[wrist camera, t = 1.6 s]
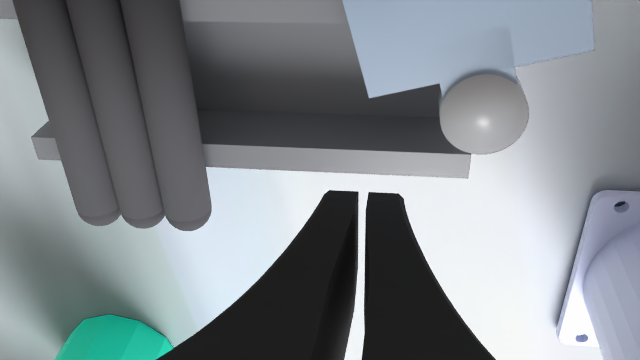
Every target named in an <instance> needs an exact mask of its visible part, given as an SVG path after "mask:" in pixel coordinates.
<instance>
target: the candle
mask: <svg viewBox="0 0 640 360" xmlns="http://www.w3.org/2000/svg"><path fill="white" fill-rule="evenodd" d="M172 349H173V347H172V346H171V344H170V343H169V341H168V340H167V338H166V337H165V336H163V335H161V334H160V333H158V332H157V331H155V330H154V329H152V328H150V327H149V326H147V325H146V324H144V323H142V322H141V321H137V320H133V319H129V318H124V317H120V316H115V315H111V314H109V315H104V316H98V317H93V318H87V319H84V320H83V321H82V322H81V323H80V324H79V325H78V326H77V327H76V328H75V330H74V331H73V332H72V333H71V334H70V336H69V337H68V339H67V340H66V342H65V344H64V345H63V347H62V349H61V350H60V352H59V353H58V355H57V357H56V358H55V360H156V359H158V358H159V357H161V356H162V355H164V354H166V353H167V352H169V351H170V350H172Z"/></svg>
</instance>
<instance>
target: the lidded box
mask: <svg viewBox="0 0 640 360" xmlns="http://www.w3.org/2000/svg"><path fill="white" fill-rule="evenodd" d="M342 1H343V5H344V8H345V12H346V16H347V19H348V23H349V27H350V30H351V34H352V38H353V41H354V45H355V49H356V52H357V56H358V60H359V63H360V67H361V70H362V74H363V78H364V81H365V85H366V89H367V92H368V96H369V98H373V97H378V96H383V95H387V94H392V93H397V92H401V91H406V90H411V89H415V88H420V87H425V86H429V85H434V84H439V83H440V87H441V89H440V92H439V99H438V103H439V115H440V124H441V129H442V131H443V134H444V135H445V137H446V139H447V140H448V141H449V142H450V143H451V144H452V145H453V146H455V147H456V148H458V149H460V150H462V151H464V152H467V153H471V154H491V153H495V152H498V151H501V150H503V149H505V148H507V147H508V146H510V145H511V144H513V143H514V142H515V141H516V140H517V139H518V138H519V137H520V136H521V134H522V133H523V131H524V130H525V128H526V125H527V122H528V118H529V108H528V103H527V100H526V98H525V95H524V92H523V89H522V87H521V84H520V81H519V79H518V78H517V76H516V73H515V67H518V66H523V65H528V64H532V63H537V62H542V61H546V60H551V59H556V58H560V57H565V56H570V55H575V54H579V53H584V52H589V51H593V50H595V47H594V31H593V14H592V0H342Z"/></svg>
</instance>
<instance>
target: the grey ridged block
mask: <svg viewBox="0 0 640 360" xmlns="http://www.w3.org/2000/svg"><path fill="white" fill-rule="evenodd" d="M12 1H13V5H14V8H15V11H16V14H17V18H18V21H19V24H20V27H21V31H22V34H23V37H24V40H25V44H26V47H27V50H28V53H29V57H30V60H31V63H32V66H33V70H34V73H35V76H36V79H37V83H38V86H39V89H40V92H41V96H42V99H43V102H44V105H45V109H46V112H47V115H48V118H49V122H50V125H51V128H52V131H53V135H54V138H55V141H56V144H57V148H58V151H59V154H60V157H61V161H62V164H63V167H64V170H65V174H66V177H67V180H68V183H69V187H70V190H71V193H72V196H73V200H74V203H75V206H76V209H77V212H78V214H79V216H80V217H81V218H82V219H83V220H84V221H85V222H87V223H89V224H91V225H95V226H104V225H108V224H111V223H112V222H114V221H115V220H117V219H118V217H119V216H120V215H122V217H123V218H124V220H125V221H126V222H127V223H129V224H130V225H132V226H134V227H136V228H150V227H153V226H155V225H157V224H158V223H159V222H160V221H161V220H162V219H163V218H164V216H165V215H166V218H167V220H168V221H169V223H170V224H171V225H172V226H174V227H175V228H177V229H179V230H182V231H193V230H196V229H198V228H200V227H202V226H203V225H204V224H205V223H206V222H207V221H208V219H209V217H210V214H211V199H210V192H209V186H208V179H207V173H206V166H205V160H204V154H203V147H202V141H201V134H200V128H199V121H198V115H197V109H196V102H195V96H194V89H193V83H192V76H191V70H190V64H189V57H188V51H187V44H186V38H185V31H184V25H183V19H182V12H181V6H180V0H12Z"/></svg>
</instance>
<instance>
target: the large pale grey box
mask: <svg viewBox="0 0 640 360" xmlns="http://www.w3.org/2000/svg"><path fill="white" fill-rule="evenodd" d="M180 6H181V12H182V19H183V25H184V31H185V38H186V44H187V51H188V57H189V64H190V70H191V76H192V83H193V89H194V96H195V102H196V109H197V115H198V121H199V128H200V134H201V141H202V147H203V154H204V160H205V166H206V167H222V168H245V169H267V170H290V171H312V172H335V173H358V174H380V175H403V176H425V177H448V178H468V176H469V168H470V160H471V153H467V152H464V151H462V150H460V149H458V148H456V147H455V146H453V145H452V144H451V143H450V142H449V141H448V140H447V139H446V137H445V135H444V134H443V131H442V129H441V124H440V115H439V103H438V99H439V92H440V89H441V87H440V83H439V84H434V85H429V86H425V87H420V88H415V89H411V90H406V91H401V92H397V93H392V94H387V95H383V96H378V97H373V98H369V96H368V92H367V89H366V85H365V81H364V78H363V74H362V70H361V67H360V63H359V60H358V56H357V52H356V49H355V45H354V41H353V38H352V34H351V30H350V27H349V23H348V19H347V16H346V12H345V8H344V5H343V1H342V0H180ZM0 19H18V18H17V14H16V11H15V8H14V5H13V1H12V0H0ZM31 139H32V142H33V145H34V148H35V151H36V154H37V157H38V159H42V160H61V157H60V154H59V151H58V148H57V144H56V141H55V138H54V135H53V131H52V128H51V125H50V122H49V121H48V122H47V123H46V124H45V125H44V126H43V127H41V128H40V129H39V130H38V131H37V132H36V133H35V134H34V135H33V136H32V137H31Z"/></svg>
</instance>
